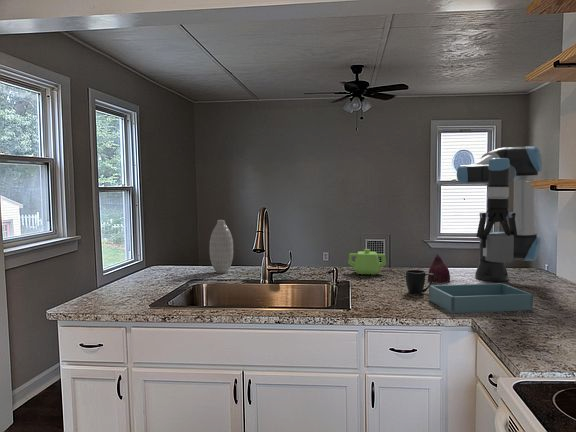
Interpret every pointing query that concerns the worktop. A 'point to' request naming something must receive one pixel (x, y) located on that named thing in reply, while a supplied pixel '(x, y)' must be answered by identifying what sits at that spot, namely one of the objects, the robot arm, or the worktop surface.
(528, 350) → the worktop surface
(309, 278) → the worktop surface
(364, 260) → the green rounded pot
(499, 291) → the tote
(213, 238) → the vase
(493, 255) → the coffee mug
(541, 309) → the worktop surface
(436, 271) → the vegetable
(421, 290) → the mug
